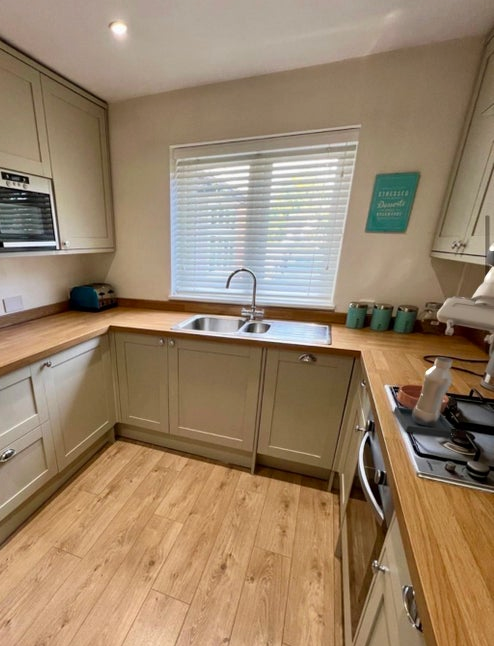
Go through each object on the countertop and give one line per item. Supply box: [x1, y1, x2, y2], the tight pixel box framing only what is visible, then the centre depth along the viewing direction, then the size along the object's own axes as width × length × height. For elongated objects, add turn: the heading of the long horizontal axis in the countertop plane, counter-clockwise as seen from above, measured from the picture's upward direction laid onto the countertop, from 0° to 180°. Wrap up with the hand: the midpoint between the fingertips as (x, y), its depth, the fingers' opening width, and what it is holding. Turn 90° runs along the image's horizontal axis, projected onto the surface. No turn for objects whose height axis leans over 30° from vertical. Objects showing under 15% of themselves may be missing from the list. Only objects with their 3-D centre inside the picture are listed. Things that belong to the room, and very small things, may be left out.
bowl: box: [396, 383, 450, 414], centre depth 107 cm, size 13×13×4 cm
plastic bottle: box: [412, 356, 454, 426], centre depth 93 cm, size 6×7×20 cm
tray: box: [393, 406, 456, 439], centre depth 96 cm, size 12×11×2 cm
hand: (466, 337), depth 96 cm, fingers open, 8 cm apart
